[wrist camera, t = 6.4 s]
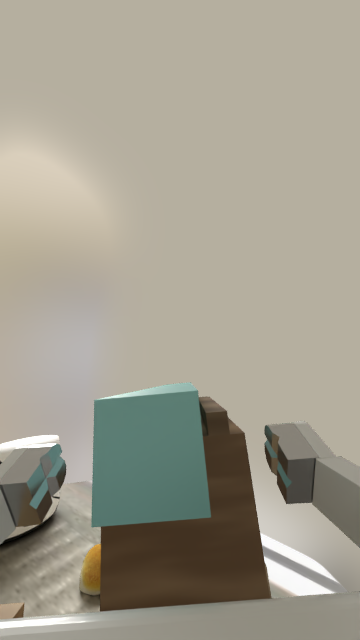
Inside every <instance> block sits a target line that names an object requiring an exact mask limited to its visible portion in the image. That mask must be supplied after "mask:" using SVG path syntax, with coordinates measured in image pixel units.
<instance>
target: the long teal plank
mask: <svg viewBox="0 0 360 640" xmlns="http://www.w3.org/2000/svg"><path fill="white" fill-rule="evenodd" d="M199 518H211V511H210V502H209V492H208V483H207V473H206V464H205V454H204V445H203V435H202V426H201V416H200V407H199V397H198V390H197V389H196V388H195V387H194V386H193V385H192V384H191V383H180V384H169V385H163V386H159V387H154V388H149V389H144V390H140V391H135V392H130V393H125V394H121V395H115V396H111V397H106V398H101V399H97V400H94V443H93V484H92V526H91V527H101V526H114V525H126V524H138V523H150V522H162V521H174V520H186V519H199Z"/></svg>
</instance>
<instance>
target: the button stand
mask: <svg viewBox="0 0 360 640" xmlns="http://www.w3.org/2000/svg"><path fill="white" fill-rule="evenodd" d="M199 407H200V416H201V426H202V435H203V445H204V454H205V464H206V473H207V483H208V492H209V502H210V511H211V518H199V519H186V520H174V521H162V522H150V523H138V524H126V525H114V526H101V573H100V612H101V611H113V610H126V609H139V608H152V607H165V606H178V605H191V604H204V603H217V602H230V601H243V600H256V599H269V598H271V592H270V586H269V580H268V573H267V567H266V564H265V562H264V556H263V549H262V543H261V536H260V530H259V524H258V517H257V511H256V504H255V498H254V491H253V486H252V479H251V472H250V466H249V460H248V453H247V446H246V440H245V434H244V432H243V431H242V430H241V429H240V428H239V427H238V426H236V425H235V424H234V423H233V422H232V421H231V420H230V419H229V418H228V416H227V411H226V410H225V409H224V408H222V407H221V406H220V405H219V404H217V403H216V402H215V401H214V400H212V399H211V398H210V397H199Z"/></svg>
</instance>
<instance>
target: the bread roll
mask: <svg viewBox="0 0 360 640" xmlns="http://www.w3.org/2000/svg"><path fill="white" fill-rule="evenodd" d="M100 573H101V544H98V545H95V546H94V547H93V548H91V549H90V551H89V552H88V553H87V555H86V557H85V559H84V561H83V565H82V570H81V575H80V584H79V588H80V590H81V591H82V592H83V593H85V594H88V595H93V596H94V595H99V594H100Z"/></svg>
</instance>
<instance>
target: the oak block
mask: <svg viewBox="0 0 360 640" xmlns="http://www.w3.org/2000/svg"><path fill="white" fill-rule="evenodd" d="M23 613H24V603H12V604H0V619H12V618H23Z"/></svg>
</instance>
